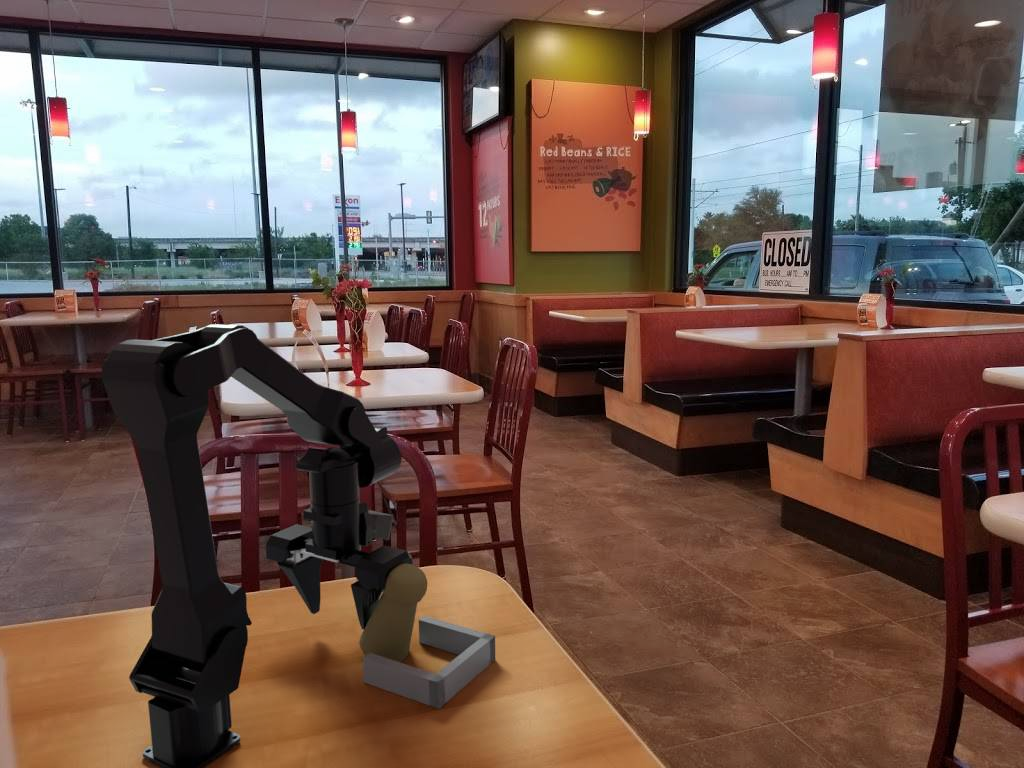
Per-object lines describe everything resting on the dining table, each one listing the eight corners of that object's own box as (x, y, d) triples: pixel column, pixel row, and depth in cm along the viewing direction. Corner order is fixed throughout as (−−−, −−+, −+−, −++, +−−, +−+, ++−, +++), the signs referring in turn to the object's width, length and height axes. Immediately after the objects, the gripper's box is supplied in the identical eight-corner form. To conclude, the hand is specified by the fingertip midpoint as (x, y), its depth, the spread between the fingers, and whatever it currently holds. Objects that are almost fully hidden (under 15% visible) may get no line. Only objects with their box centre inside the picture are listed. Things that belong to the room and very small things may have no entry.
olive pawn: (414, 637, 95) (439, 566, 91) (401, 671, 89) (427, 596, 85) (368, 621, 95) (391, 548, 91) (352, 653, 89) (376, 578, 85)
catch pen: (438, 708, 81) (438, 682, 80) (363, 682, 86) (362, 657, 85) (495, 659, 91) (495, 635, 90) (425, 638, 96) (424, 615, 95)
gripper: (438, 492, 94) (440, 611, 97) (323, 470, 103) (328, 579, 106) (380, 520, 85) (384, 651, 88) (259, 493, 94) (266, 612, 97)
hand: (340, 620), depth 95 cm, fingers open, 8 cm apart
